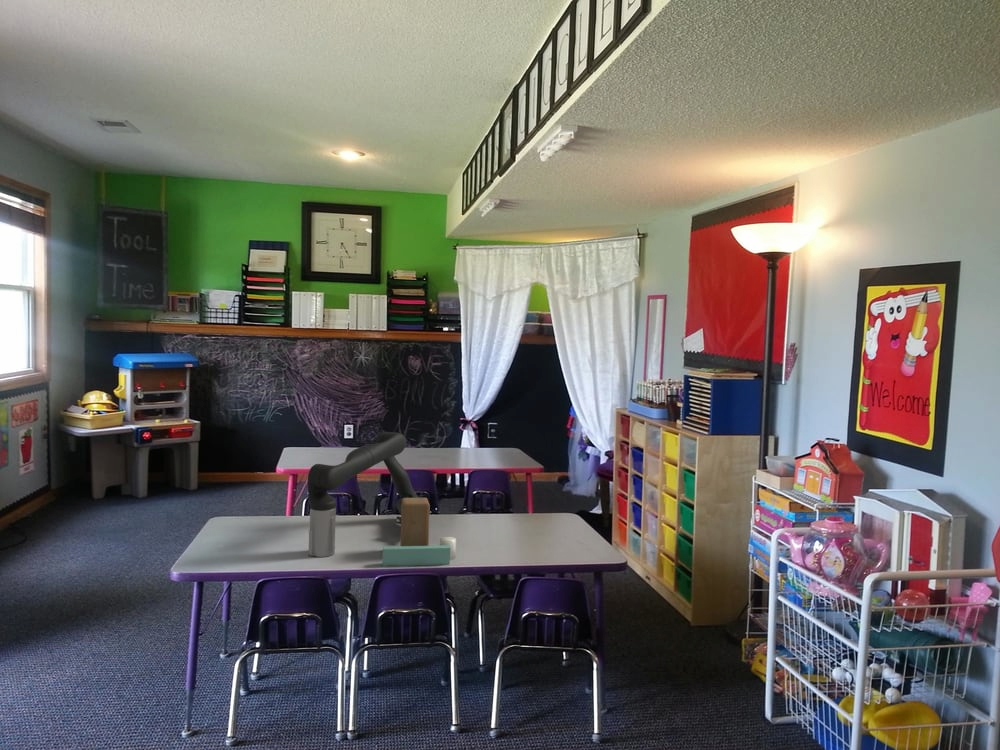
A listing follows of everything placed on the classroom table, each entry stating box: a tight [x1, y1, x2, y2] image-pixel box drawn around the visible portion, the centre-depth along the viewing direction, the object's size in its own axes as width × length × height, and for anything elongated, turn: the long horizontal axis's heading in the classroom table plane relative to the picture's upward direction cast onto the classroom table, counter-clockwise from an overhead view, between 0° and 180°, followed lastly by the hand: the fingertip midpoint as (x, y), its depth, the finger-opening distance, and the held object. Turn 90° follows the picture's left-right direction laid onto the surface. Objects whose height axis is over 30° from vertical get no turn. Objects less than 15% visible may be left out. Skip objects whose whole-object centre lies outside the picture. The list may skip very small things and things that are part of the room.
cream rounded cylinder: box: [439, 536, 457, 561], centre depth 259 cm, size 6×6×7 cm
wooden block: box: [399, 497, 431, 546], centre depth 263 cm, size 10×10×20 cm
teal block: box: [381, 545, 451, 567], centre depth 251 cm, size 24×3×6 cm, turn 100°
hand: (413, 525), depth 273 cm, fingers closed
